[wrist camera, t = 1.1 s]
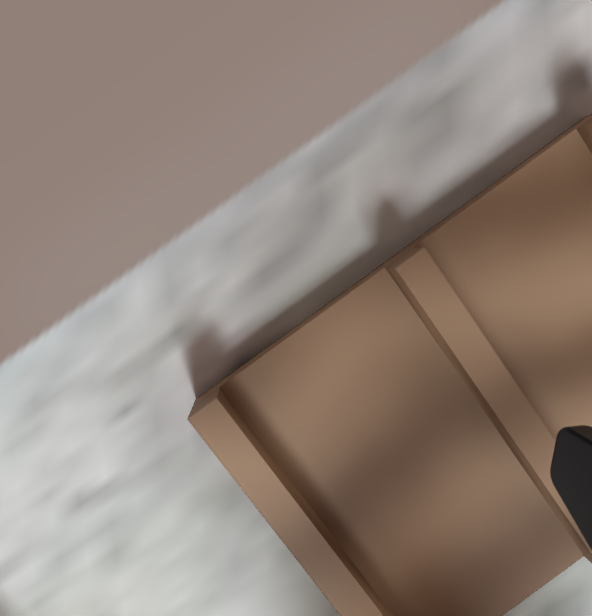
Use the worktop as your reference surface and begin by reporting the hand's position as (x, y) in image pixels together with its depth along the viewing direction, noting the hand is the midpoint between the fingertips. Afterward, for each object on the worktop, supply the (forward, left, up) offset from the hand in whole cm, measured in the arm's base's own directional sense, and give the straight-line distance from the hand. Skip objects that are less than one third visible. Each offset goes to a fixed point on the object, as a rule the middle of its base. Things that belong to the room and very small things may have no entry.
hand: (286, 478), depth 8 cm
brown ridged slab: (-2, -9, -12) cm, 15 cm away
